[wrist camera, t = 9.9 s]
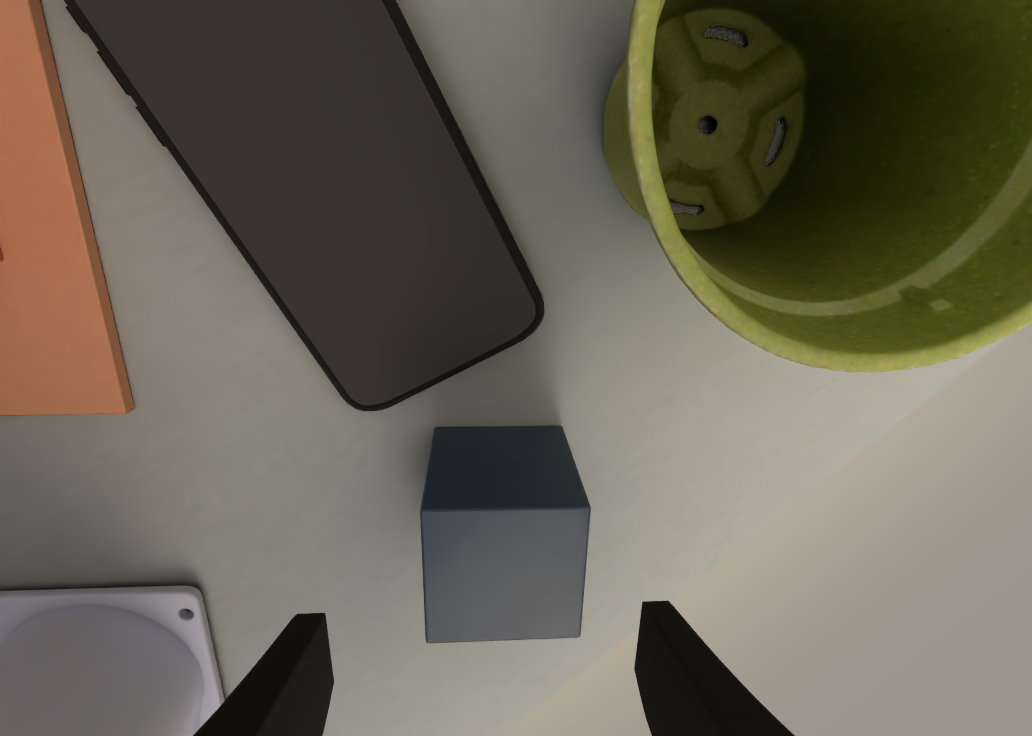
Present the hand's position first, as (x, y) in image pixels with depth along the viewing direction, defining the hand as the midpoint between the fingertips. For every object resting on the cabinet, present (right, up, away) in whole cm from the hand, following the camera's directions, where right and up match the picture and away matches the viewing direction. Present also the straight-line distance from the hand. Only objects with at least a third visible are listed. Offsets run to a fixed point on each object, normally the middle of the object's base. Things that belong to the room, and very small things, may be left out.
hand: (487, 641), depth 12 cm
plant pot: (+6, +13, +4) cm, 15 cm away
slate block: (0, +2, +7) cm, 8 cm away
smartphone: (-5, +12, +3) cm, 14 cm away
